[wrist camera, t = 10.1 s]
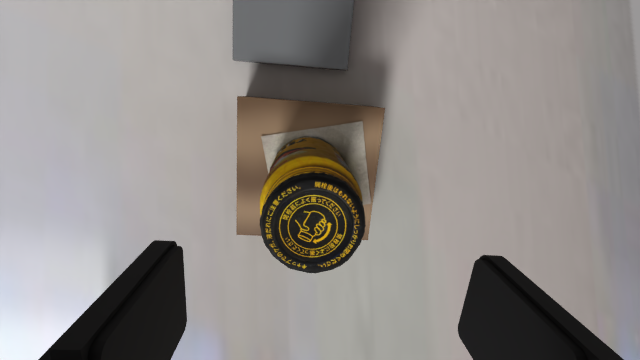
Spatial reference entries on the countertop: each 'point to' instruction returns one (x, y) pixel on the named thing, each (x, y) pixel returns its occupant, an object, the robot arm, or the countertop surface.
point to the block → (288, 117)
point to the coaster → (293, 32)
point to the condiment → (315, 196)
